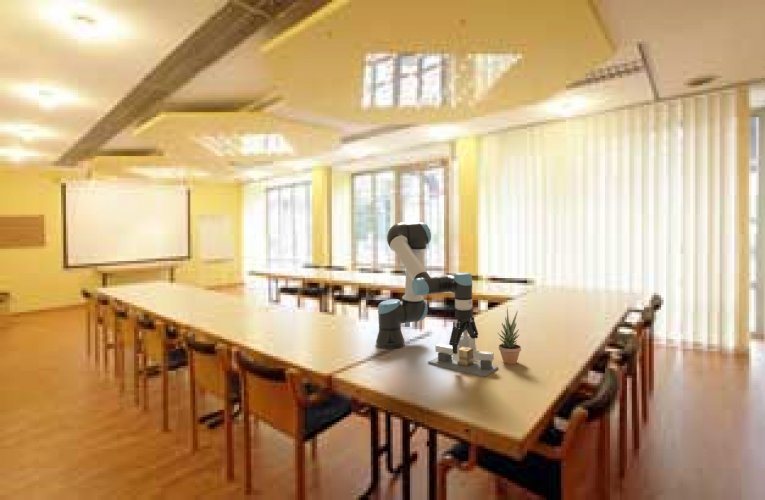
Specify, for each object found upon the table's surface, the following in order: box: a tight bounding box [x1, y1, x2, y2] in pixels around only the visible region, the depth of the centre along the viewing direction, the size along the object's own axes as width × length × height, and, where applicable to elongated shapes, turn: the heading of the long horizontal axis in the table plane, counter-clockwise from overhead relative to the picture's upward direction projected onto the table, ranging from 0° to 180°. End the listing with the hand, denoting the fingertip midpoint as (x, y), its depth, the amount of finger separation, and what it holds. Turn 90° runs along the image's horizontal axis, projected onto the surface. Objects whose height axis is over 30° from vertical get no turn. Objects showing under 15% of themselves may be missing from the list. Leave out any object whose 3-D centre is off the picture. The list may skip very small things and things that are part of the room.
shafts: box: [435, 343, 495, 362], centre depth 181 cm, size 27×6×3 cm, turn 48°
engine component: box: [458, 330, 477, 351], centre depth 201 cm, size 11×20×10 cm
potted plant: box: [497, 307, 522, 365], centre depth 183 cm, size 10×10×25 cm
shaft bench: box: [427, 352, 499, 378], centre depth 180 cm, size 28×12×4 cm, turn 48°
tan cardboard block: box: [457, 347, 474, 367], centre depth 179 cm, size 5×5×7 cm
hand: (464, 356), depth 180 cm, fingers open, 13 cm apart
